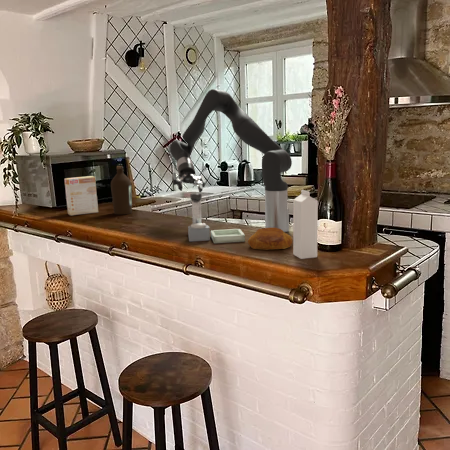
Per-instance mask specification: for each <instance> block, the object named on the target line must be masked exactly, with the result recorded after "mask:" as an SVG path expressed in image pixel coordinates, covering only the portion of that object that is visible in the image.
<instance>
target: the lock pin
mask: <svg viewBox="0 0 450 450" xmlns="http://www.w3.org/2000/svg"><path fill="white" fill-rule="evenodd" d="M202 199H203V194H202V193H200V192H199V193H191V194H190V201H191V213H192V214H191V215H192V224H194V223H202V201H201V200H202Z"/></svg>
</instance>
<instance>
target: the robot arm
mask: <svg viewBox="0 0 450 450" xmlns="http://www.w3.org/2000/svg"><path fill="white" fill-rule="evenodd" d="M213 111H215V112H220V113H222V114H224V115H225V116H226V117H227V118H228V119H229V120H230V123H231V126H232V129H233V132H234V133H235V134H236V135H237V137H238V138H239V139H240V140H241V142H243V143H245V144H246V145H247V146H249V147H251V148H253V149H255V150H257V151H259V152H260V153H261V154H263V156H262V160H261V171H262V172H261V173H262V174H261V175H262V183H263V185H264V208H265V209H264V210H265V212H264V214H265V216H264V219H265V220H264V221H265V226H264V228H274V227H275V228H279V229H281V230H283V231H284V233H286V232H290V209H289V207H288V182H286V181H284V180H283V179H282V173H285V172H287V171H289V170H290V169H291V167H292V164H293V163H292V162H293V161H292V157H291V155H290V154H289V152H287V151H286V150H285V149H284V148H283V147H282V146H280V145H279V144H278V143H277V142H275V141H274V140H273V139H272V138H271V137H270V136H269V135H268V134H267V133H266V132H265V130H263V129H262V128H261V127H260V125H258V124H257V123H256V121H255V120H253V118H251V117H250V116H249V115H248V113H247V112H246V111H244V110H243V109H242V108H241V107H240V106H239V104H238V103H237V102H236V100H235V99H234V98H233V97H232V95H231V94H230V93H229V92H227V91H226V90H222V89H216V88H212V89H209V90H208V92H207V93H206V94H205V95H204V97H203V99H202V102H201V104H200V106H199V108H198V110H197V111H196V114H195V116H194V118H193V119H192V120H191V122H190V124H189V125H188V126H187V128H186V129H185V131H184V132H183V133H182V139H183V141H180V140H178V139H175V140H173V141H172V142H171V143H170V146H169V152H170V154H171V155H172V157H173V159H174V160H175V162H176V170H177V173H178V174H177V173H176V172H173V173H172V179H171V180H172V185H174V186H177V189H178V190H179V191H180V192H181V191H183V187H184V186H183V184H190V185H193V186H194V187H195V186H196V187H197V189H198V192H199V193H202V192H203V189H204V188H205V186H206V179H205V177H204V175H203V174H201V175H200V176H198V175H196V169H195V166H194V162H193V161H192V157H191V155H192V153H193V149H194V147H195V144H197V141H198V140H199V138H200V137H201V136H202V135H203V133H204V130H205V129H206V128H205V126H206V120H208V119H207V118H208V117H209V116H210V115H211V113H213Z"/></svg>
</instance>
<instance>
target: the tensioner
mask: <svg viewBox="0 0 450 450" xmlns="http://www.w3.org/2000/svg"><path fill="white" fill-rule="evenodd" d="M187 228H188V230H187V231H188V232H187V233H188V234H187V235H188V241H189V242H202V241H211V231H210V226H209V225H208V224H207V223H205V222H203V223H194V224H193V223H191V224H190V225H189V226H187Z"/></svg>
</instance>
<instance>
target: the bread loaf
mask: <svg viewBox="0 0 450 450" xmlns="http://www.w3.org/2000/svg"><path fill="white" fill-rule="evenodd" d="M247 244H248V245H249V246H250V248H251V249H253V250H269V251H270V250H284V249H288V248H290V247H291V246H292V245H293V237H292V236H291V235H289V234H288V233H286V232H284V231H283V230H281V229H279V228H275V227H274V228H265V227H263V228H258V229H257V230H256V231H255V233H253V234H252V235H251V236H250V237H249V238H248V240H247Z"/></svg>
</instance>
